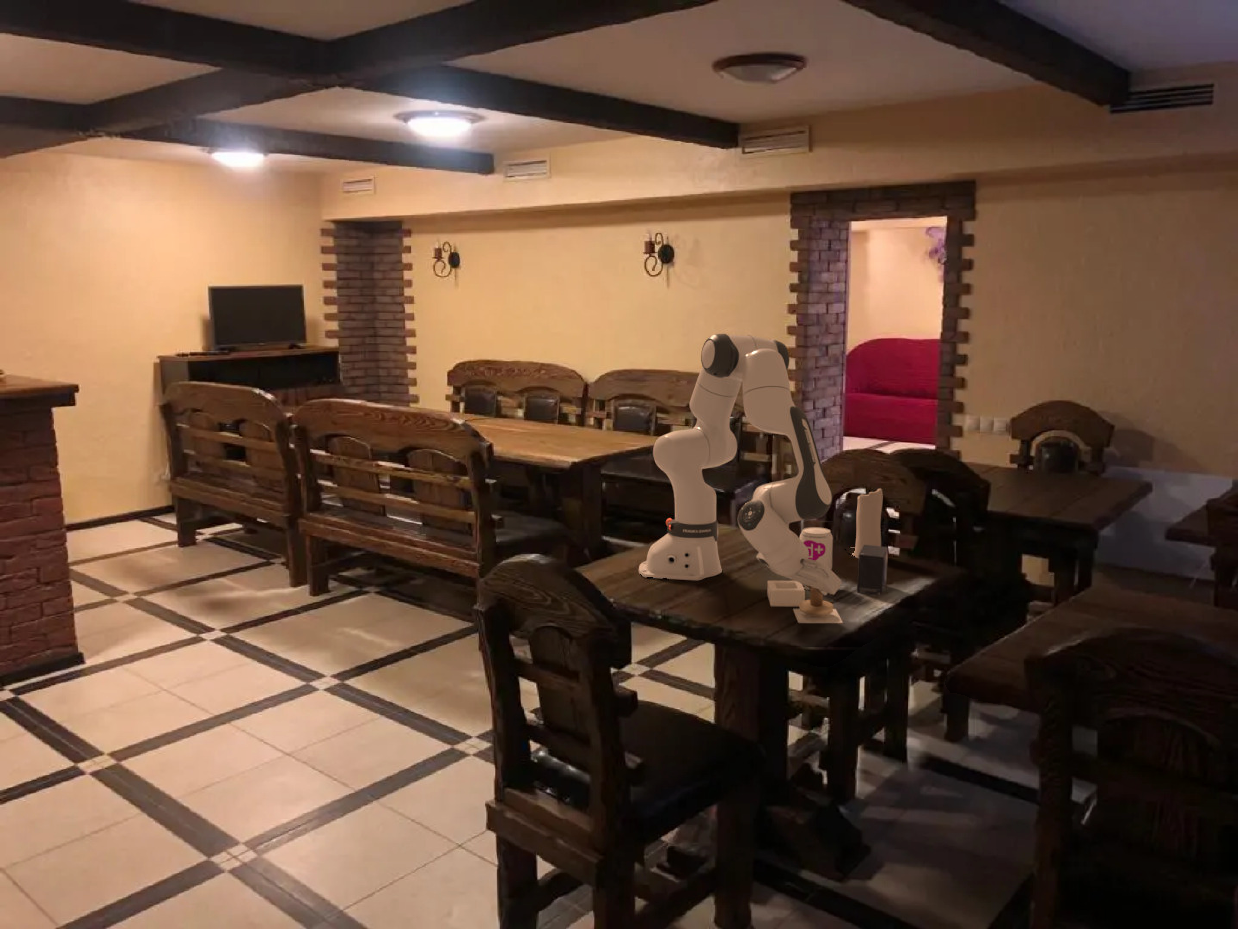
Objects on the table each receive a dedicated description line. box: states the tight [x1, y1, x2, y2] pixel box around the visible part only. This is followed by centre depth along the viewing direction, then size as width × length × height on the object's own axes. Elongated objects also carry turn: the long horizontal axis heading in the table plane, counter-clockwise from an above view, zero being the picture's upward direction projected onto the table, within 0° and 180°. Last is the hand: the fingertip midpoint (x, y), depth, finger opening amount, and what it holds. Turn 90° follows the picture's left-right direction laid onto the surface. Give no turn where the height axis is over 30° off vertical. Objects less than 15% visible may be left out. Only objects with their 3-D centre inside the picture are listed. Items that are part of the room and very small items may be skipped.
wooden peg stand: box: [799, 587, 834, 615], centre depth 229 cm, size 8×8×8 cm
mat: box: [792, 608, 844, 624], centre depth 229 cm, size 10×10×1 cm
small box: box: [856, 545, 888, 595], centre depth 249 cm, size 11×6×10 cm, turn 160°
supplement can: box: [799, 526, 834, 591], centre depth 252 cm, size 8×8×15 cm
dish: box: [767, 580, 806, 607], centre depth 240 cm, size 8×8×4 cm
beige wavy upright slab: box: [851, 487, 884, 559], centre depth 283 cm, size 7×14×20 cm, turn 19°
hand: (818, 590), depth 229 cm, fingers closed on wooden peg stand, 3 cm apart
